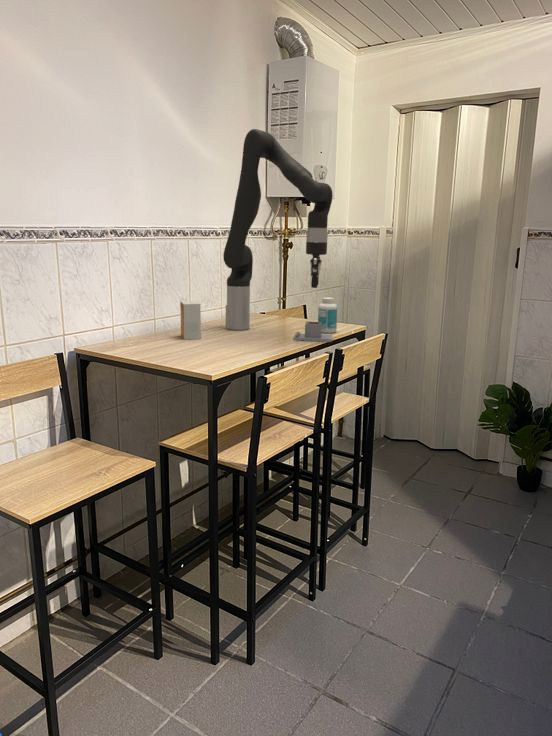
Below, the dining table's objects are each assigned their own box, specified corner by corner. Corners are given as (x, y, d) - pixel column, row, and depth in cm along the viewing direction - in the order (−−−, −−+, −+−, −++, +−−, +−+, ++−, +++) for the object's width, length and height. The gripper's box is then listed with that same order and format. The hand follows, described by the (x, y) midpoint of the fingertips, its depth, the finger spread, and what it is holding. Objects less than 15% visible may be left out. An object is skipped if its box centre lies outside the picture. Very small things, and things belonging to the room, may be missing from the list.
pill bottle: (336, 330, 233) (337, 297, 230) (336, 333, 226) (337, 299, 223) (317, 329, 234) (319, 296, 231) (317, 333, 227) (318, 298, 224)
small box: (180, 335, 217) (180, 300, 213) (197, 335, 218) (197, 300, 215) (183, 339, 209) (183, 303, 206) (201, 339, 211) (200, 303, 208)
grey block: (304, 337, 212) (305, 324, 211) (305, 334, 218) (306, 321, 217) (321, 338, 212) (321, 324, 211) (321, 335, 218) (322, 322, 216)
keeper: (293, 340, 211) (293, 327, 210) (295, 336, 220) (295, 323, 219) (331, 342, 210) (332, 328, 209) (332, 337, 219) (332, 324, 218)
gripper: (307, 240, 214) (305, 284, 218) (305, 241, 200) (303, 288, 204) (327, 240, 213) (325, 284, 217) (326, 241, 199) (324, 289, 203)
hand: (314, 286), depth 210 cm, fingers open, 8 cm apart
